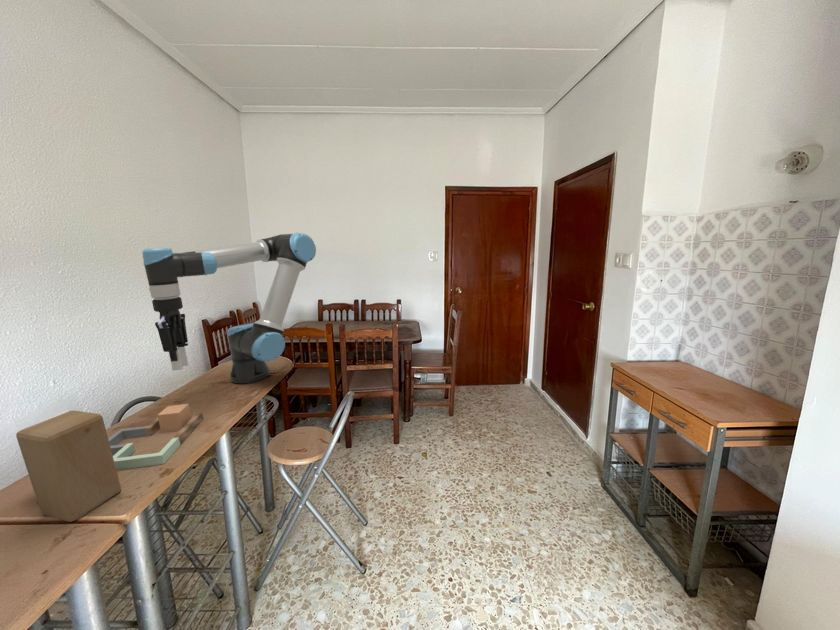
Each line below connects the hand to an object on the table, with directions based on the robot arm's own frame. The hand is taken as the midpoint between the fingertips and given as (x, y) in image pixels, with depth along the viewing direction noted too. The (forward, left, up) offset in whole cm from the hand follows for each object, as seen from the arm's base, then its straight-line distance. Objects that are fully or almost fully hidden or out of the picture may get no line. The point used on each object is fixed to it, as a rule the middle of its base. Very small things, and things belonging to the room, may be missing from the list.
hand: (180, 367), depth 112 cm
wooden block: (+40, -4, -17) cm, 44 cm away
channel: (+13, 0, -17) cm, 21 cm away
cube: (+8, 0, -17) cm, 19 cm away
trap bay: (+16, -10, -17) cm, 25 cm away
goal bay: (+24, 0, -17) cm, 30 cm away
